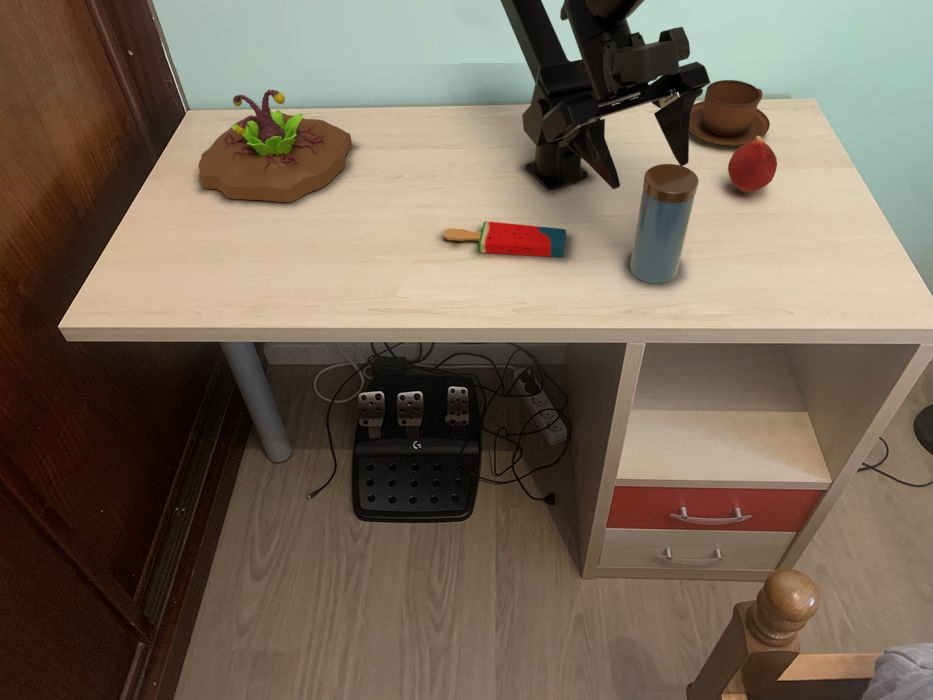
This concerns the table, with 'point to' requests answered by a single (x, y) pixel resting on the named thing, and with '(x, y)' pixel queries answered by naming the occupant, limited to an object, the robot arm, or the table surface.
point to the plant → (274, 155)
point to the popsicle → (514, 239)
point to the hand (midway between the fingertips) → (651, 176)
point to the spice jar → (662, 222)
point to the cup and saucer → (729, 114)
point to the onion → (752, 166)
